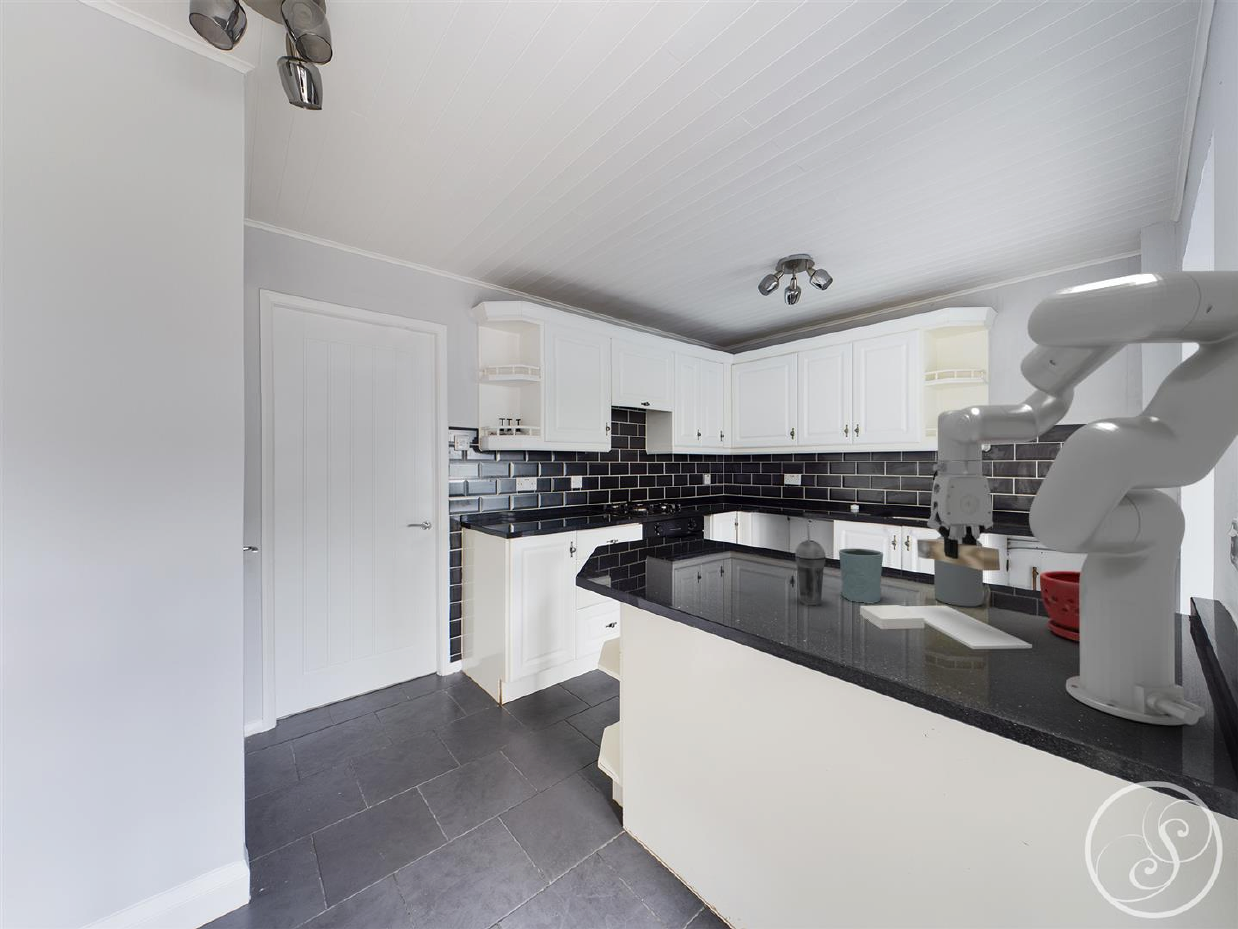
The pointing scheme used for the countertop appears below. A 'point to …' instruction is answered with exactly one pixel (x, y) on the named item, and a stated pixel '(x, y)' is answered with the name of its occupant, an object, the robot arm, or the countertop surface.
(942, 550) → the wooden beam
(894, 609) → the tile
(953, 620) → the rest mat
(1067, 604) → the plant pot
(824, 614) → the countertop surface
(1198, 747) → the countertop surface
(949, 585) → the water bottle
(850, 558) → the teal round container
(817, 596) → the beverage cup
